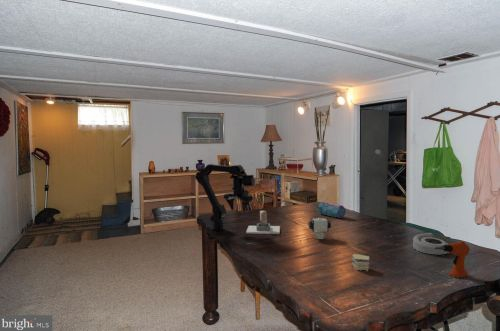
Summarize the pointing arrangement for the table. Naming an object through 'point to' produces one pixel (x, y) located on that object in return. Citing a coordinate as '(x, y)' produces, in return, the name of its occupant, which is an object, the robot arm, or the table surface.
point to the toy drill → (457, 257)
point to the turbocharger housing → (428, 244)
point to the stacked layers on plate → (360, 262)
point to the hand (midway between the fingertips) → (238, 211)
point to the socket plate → (263, 229)
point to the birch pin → (263, 218)
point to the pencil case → (331, 210)
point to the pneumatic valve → (319, 227)
